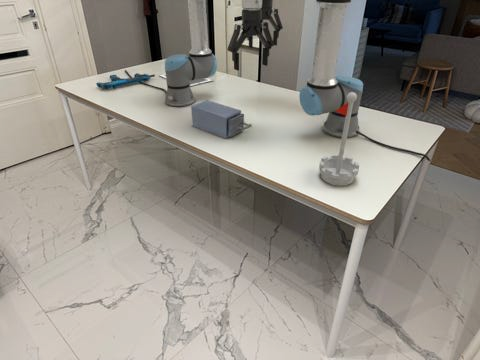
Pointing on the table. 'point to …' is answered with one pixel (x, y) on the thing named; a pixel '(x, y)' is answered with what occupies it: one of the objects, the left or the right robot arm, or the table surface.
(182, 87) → the left robot arm
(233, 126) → the drawer
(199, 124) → the cabinet
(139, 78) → the submachine gun
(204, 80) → the tablet
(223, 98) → the table surface
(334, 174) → the flag stand
